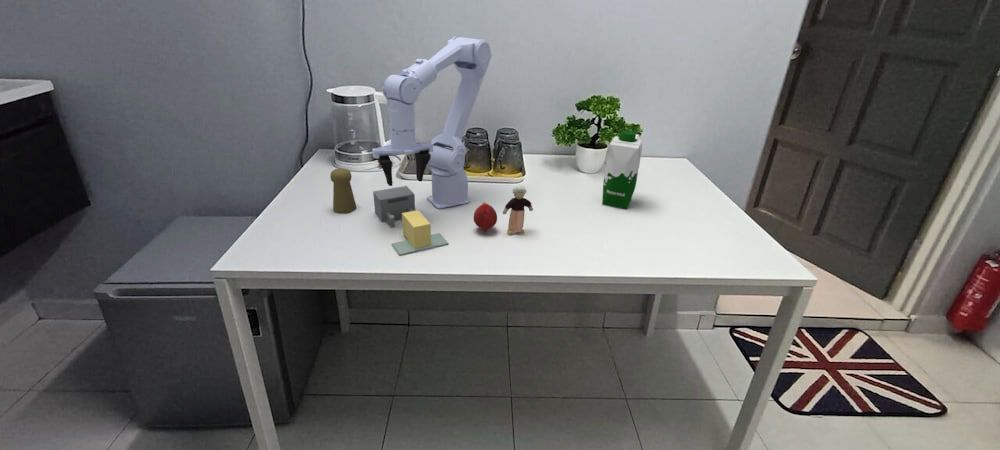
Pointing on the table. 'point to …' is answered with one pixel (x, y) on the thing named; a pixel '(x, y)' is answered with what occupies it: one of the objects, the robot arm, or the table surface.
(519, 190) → the grandmother figurine
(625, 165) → the milk carton
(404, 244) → the mat
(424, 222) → the tall tan block
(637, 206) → the table surface
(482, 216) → the onion
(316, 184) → the table surface
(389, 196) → the grey boxy piece
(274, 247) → the table surface
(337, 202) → the cork
